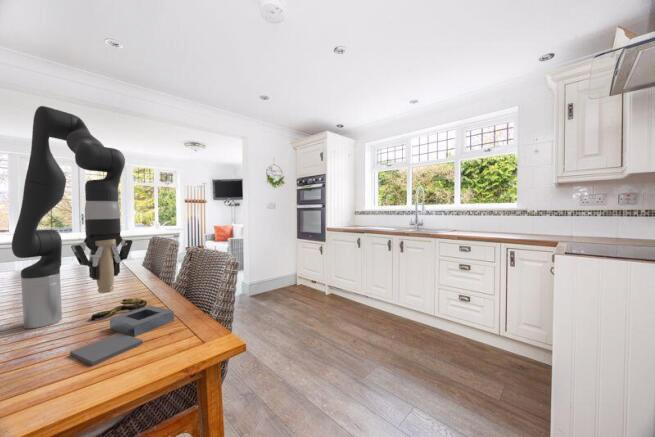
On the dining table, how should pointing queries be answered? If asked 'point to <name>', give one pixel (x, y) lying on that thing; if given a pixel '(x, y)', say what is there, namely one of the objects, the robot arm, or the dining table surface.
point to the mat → (105, 348)
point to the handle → (106, 266)
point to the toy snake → (121, 308)
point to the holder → (141, 320)
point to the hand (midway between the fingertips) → (105, 277)
